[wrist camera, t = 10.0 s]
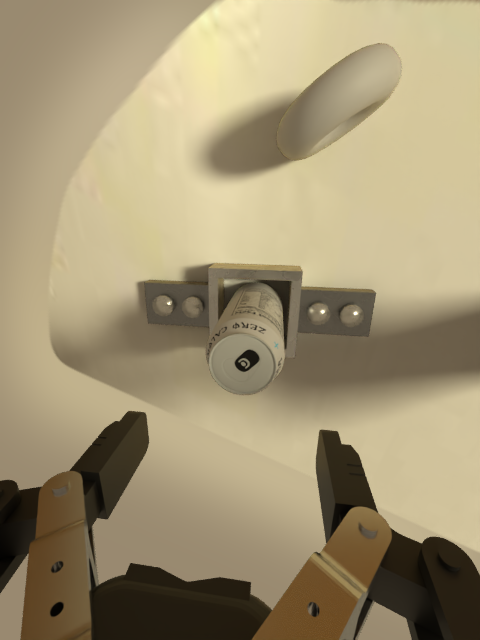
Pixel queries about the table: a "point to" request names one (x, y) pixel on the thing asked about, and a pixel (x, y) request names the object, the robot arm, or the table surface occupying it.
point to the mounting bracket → (304, 302)
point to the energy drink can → (248, 341)
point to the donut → (339, 101)
